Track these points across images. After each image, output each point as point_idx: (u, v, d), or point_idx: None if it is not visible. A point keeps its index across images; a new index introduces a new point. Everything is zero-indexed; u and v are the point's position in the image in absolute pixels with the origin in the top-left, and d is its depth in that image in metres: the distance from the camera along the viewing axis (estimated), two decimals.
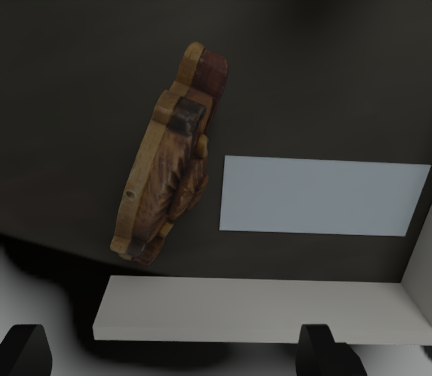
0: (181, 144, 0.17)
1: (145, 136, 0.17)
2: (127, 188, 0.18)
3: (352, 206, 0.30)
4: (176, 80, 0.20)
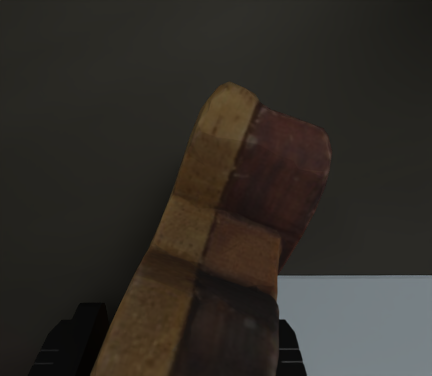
0: None
1: None
2: None
3: None
4: (176, 194, 0.07)
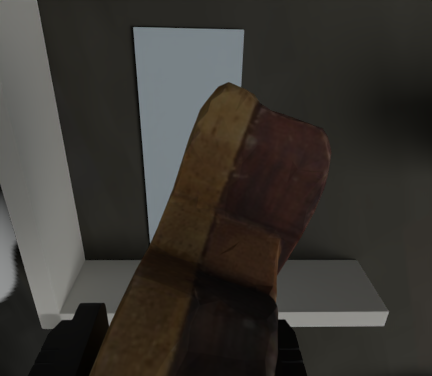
0: None
1: None
2: None
3: None
4: (176, 195, 0.07)
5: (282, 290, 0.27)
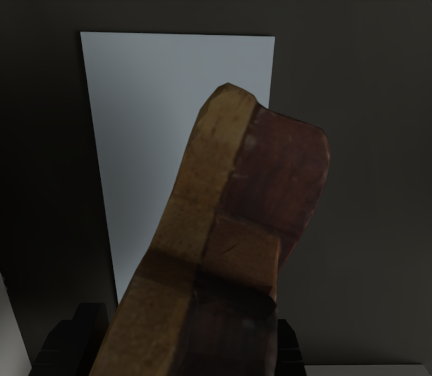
0: None
1: None
2: None
3: None
4: (175, 195, 0.07)
5: None
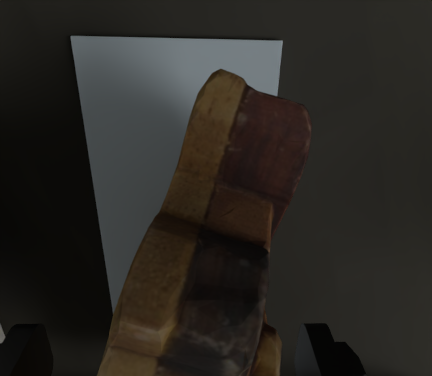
0: None
1: None
2: None
3: None
4: (180, 169, 0.08)
5: None
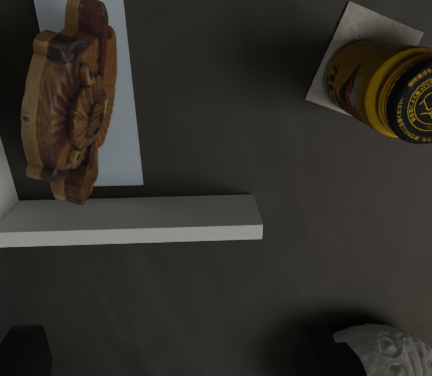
0: (60, 70, 0.21)
1: (30, 67, 0.21)
2: (22, 113, 0.21)
3: None
4: (65, 26, 0.24)
5: (179, 214, 0.32)
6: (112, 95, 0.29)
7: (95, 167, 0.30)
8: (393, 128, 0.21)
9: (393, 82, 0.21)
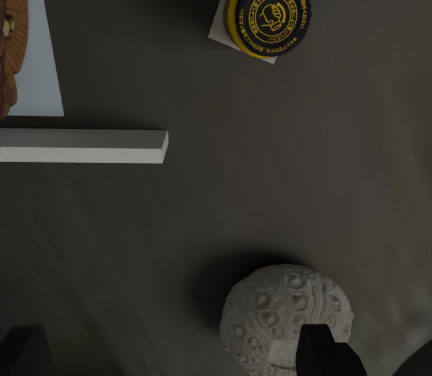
0: None
1: None
2: None
3: None
4: None
5: (90, 140, 0.35)
6: (23, 22, 0.32)
7: (8, 89, 0.33)
8: (241, 40, 0.24)
9: None
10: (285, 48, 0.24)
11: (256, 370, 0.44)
